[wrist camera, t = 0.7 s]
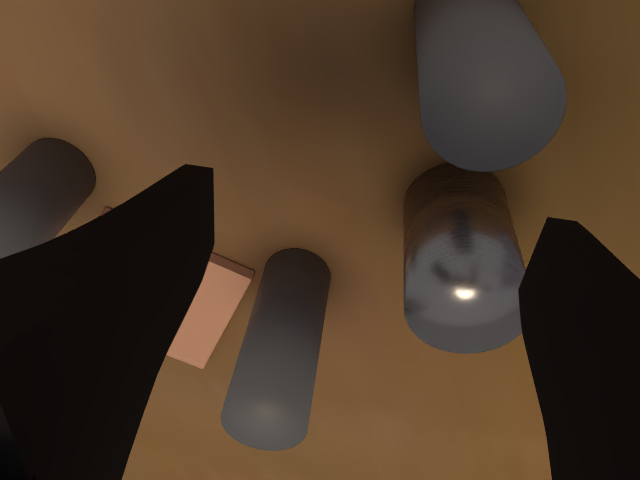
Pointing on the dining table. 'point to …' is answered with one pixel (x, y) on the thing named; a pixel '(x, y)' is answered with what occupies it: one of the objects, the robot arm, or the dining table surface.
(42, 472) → the robot arm
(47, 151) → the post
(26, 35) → the dining table surface
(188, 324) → the tile
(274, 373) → the post corner
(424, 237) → the shiny metal cylinder
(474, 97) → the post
